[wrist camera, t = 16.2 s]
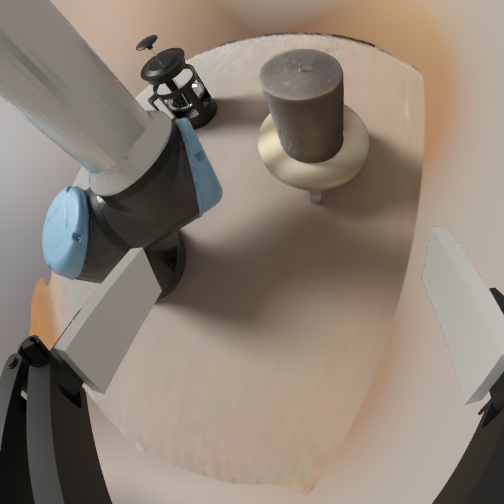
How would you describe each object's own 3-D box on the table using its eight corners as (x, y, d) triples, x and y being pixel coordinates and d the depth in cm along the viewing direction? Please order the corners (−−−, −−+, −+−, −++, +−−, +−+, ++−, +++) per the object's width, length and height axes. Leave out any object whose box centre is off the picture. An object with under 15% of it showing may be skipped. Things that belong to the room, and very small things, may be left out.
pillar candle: (356, 140, 37) (362, 64, 23) (308, 176, 37) (294, 105, 23) (312, 104, 40) (300, 32, 26) (266, 136, 41) (237, 66, 26)
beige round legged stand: (249, 163, 49) (236, 140, 42) (314, 110, 48) (310, 82, 41) (316, 227, 44) (314, 210, 36) (382, 163, 43) (390, 138, 35)
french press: (203, 91, 57) (158, 20, 35) (228, 105, 54) (183, 25, 32) (166, 124, 57) (108, 61, 35) (187, 142, 54) (126, 71, 32)
